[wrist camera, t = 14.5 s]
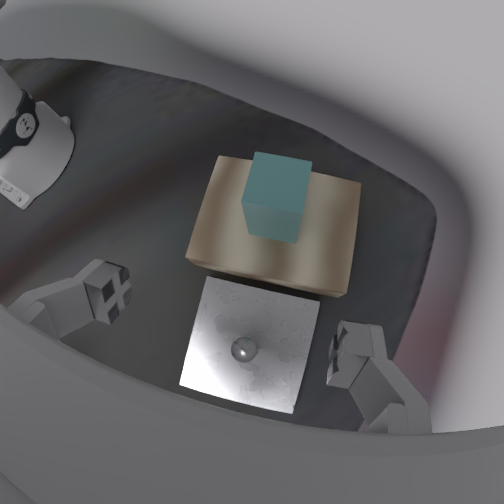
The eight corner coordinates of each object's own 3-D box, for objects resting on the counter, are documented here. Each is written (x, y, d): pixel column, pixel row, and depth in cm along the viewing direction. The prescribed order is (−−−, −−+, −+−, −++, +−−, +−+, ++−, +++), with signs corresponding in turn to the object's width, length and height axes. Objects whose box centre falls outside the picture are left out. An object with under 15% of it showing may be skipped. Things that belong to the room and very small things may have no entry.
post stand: (183, 382, 29) (162, 393, 22) (210, 278, 32) (194, 265, 25) (291, 409, 27) (295, 429, 21) (317, 303, 30) (329, 296, 24)
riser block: (195, 265, 32) (185, 256, 28) (224, 173, 35) (218, 155, 31) (337, 297, 30) (346, 293, 26) (352, 198, 33) (361, 183, 29)
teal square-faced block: (248, 234, 28) (240, 201, 21) (259, 193, 29) (255, 151, 22) (295, 244, 28) (302, 213, 21) (303, 201, 29) (312, 161, 22)
